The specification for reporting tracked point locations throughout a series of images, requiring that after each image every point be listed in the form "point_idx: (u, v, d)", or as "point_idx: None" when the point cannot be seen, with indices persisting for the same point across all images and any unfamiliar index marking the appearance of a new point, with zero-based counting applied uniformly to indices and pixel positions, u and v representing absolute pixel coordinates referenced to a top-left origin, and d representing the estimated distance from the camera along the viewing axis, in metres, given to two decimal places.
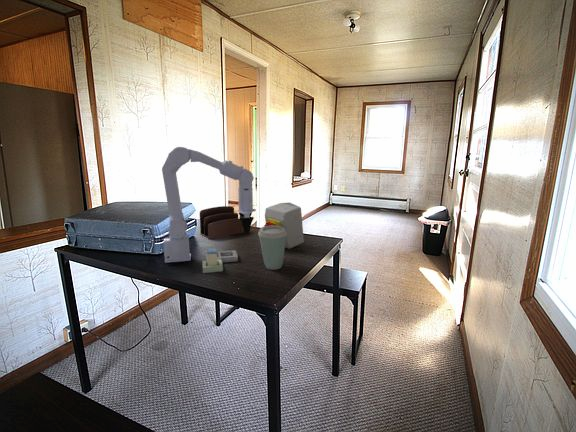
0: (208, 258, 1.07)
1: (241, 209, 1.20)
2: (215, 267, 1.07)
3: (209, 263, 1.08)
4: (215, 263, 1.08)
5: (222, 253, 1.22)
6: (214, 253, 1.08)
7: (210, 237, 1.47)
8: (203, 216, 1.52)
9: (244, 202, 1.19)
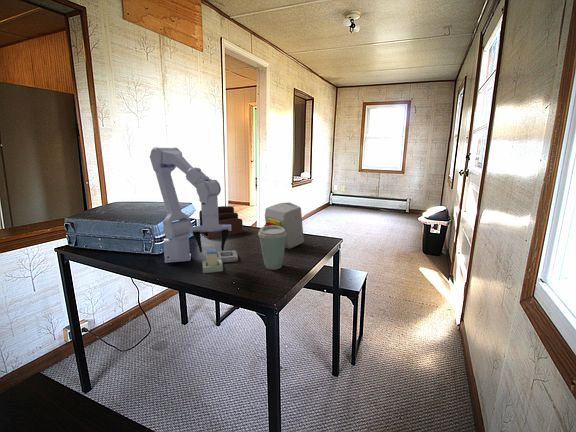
0: (208, 258, 1.07)
1: None
2: (215, 267, 1.07)
3: (209, 263, 1.08)
4: (215, 263, 1.09)
5: (222, 253, 1.22)
6: (214, 253, 1.08)
7: (210, 237, 1.47)
8: None
9: None
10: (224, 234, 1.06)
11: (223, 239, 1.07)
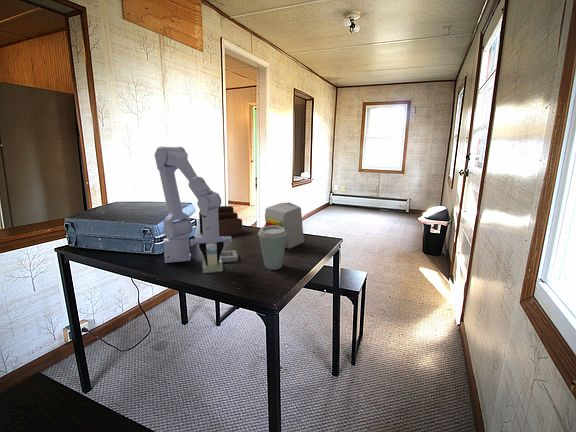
0: (208, 258, 1.07)
1: None
2: (215, 267, 1.07)
3: (209, 262, 1.08)
4: (215, 263, 1.08)
5: (222, 253, 1.22)
6: (214, 253, 1.08)
7: None
8: None
9: None
10: (219, 247, 1.07)
11: (218, 251, 1.08)
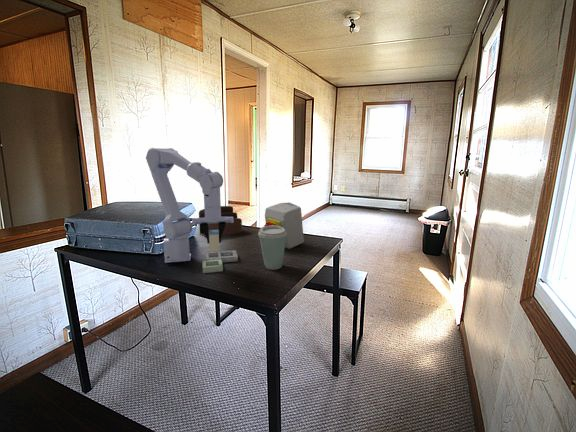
0: (210, 239, 1.07)
1: None
2: (215, 267, 1.07)
3: (211, 243, 1.08)
4: (217, 244, 1.09)
5: (222, 253, 1.22)
6: (216, 234, 1.08)
7: None
8: (202, 216, 1.53)
9: None
10: (221, 226, 1.07)
11: (220, 231, 1.08)
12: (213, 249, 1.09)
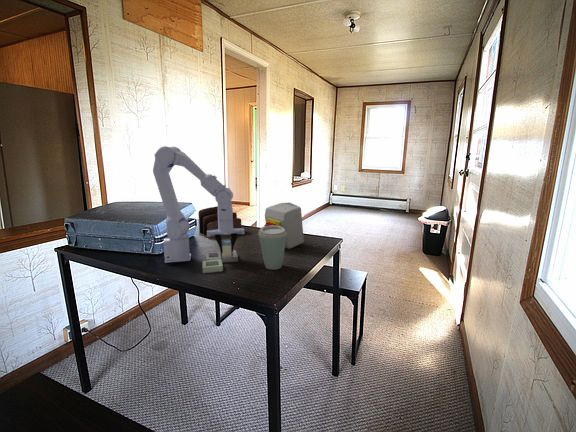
0: (223, 249, 1.17)
1: None
2: (215, 267, 1.07)
3: (224, 253, 1.18)
4: (229, 254, 1.18)
5: None
6: (229, 245, 1.17)
7: (209, 237, 1.48)
8: (202, 216, 1.53)
9: None
10: (233, 237, 1.17)
11: (232, 242, 1.18)
12: None
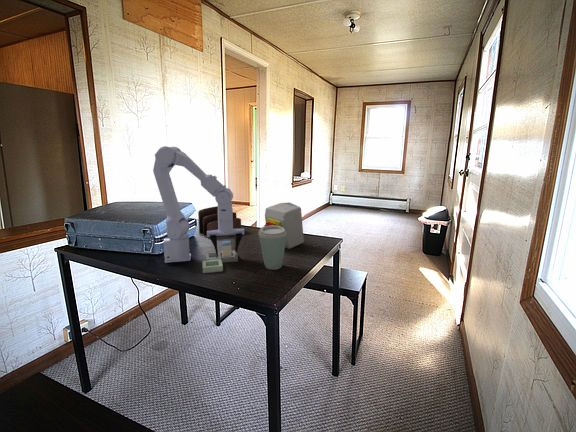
0: (223, 249, 1.17)
1: None
2: (215, 267, 1.07)
3: (224, 253, 1.18)
4: (229, 254, 1.18)
5: None
6: (229, 245, 1.17)
7: None
8: (202, 216, 1.53)
9: None
10: (238, 237, 1.17)
11: (237, 242, 1.18)
12: None
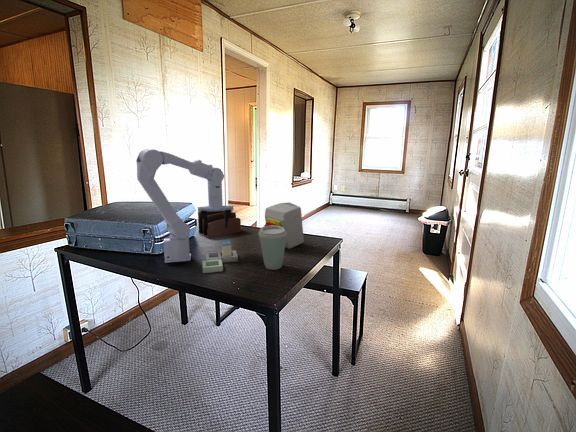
0: (223, 249, 1.17)
1: None
2: (215, 267, 1.07)
3: (224, 253, 1.18)
4: (229, 254, 1.18)
5: None
6: (229, 245, 1.17)
7: (209, 236, 1.48)
8: (201, 216, 1.53)
9: None
10: (227, 213, 1.25)
11: (226, 218, 1.26)
12: None
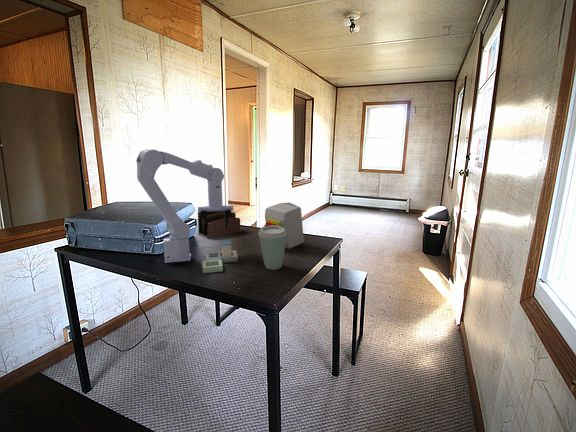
0: (223, 249, 1.17)
1: None
2: (215, 267, 1.07)
3: (224, 253, 1.18)
4: (229, 254, 1.18)
5: None
6: (229, 245, 1.17)
7: (209, 236, 1.48)
8: (201, 216, 1.53)
9: None
10: (227, 213, 1.25)
11: (226, 218, 1.26)
12: None
